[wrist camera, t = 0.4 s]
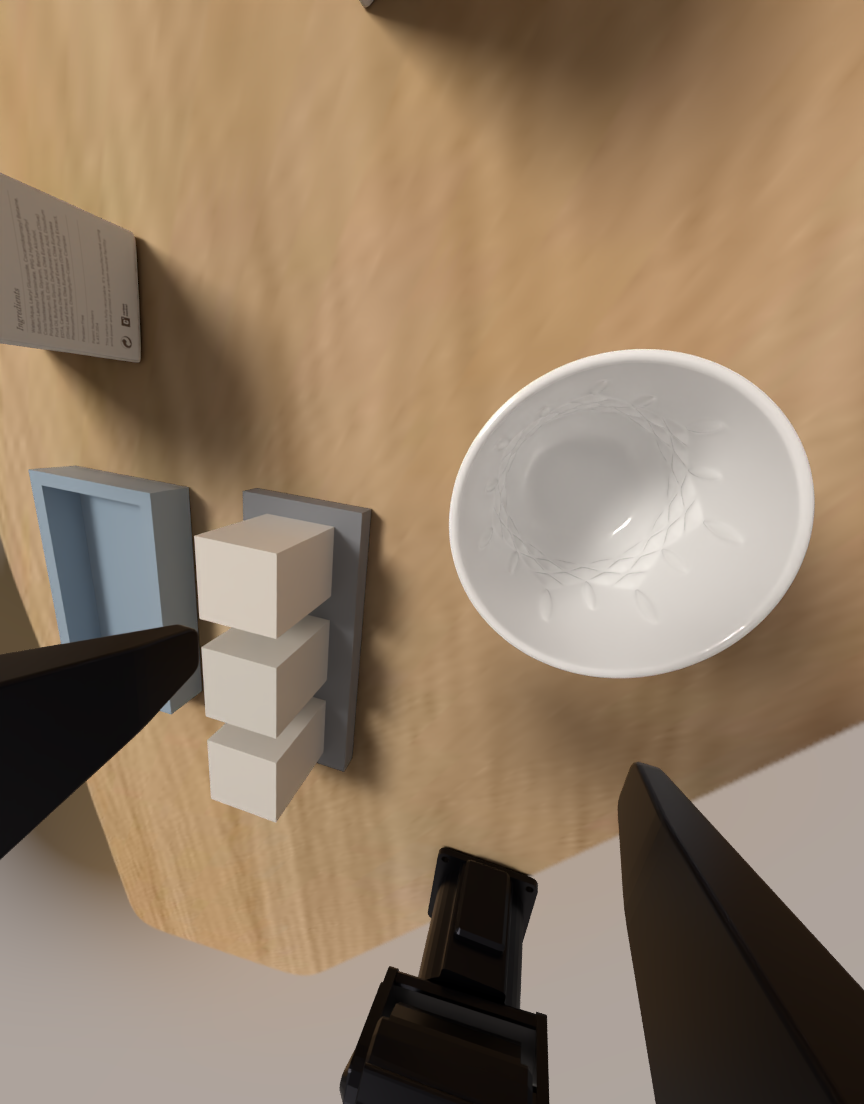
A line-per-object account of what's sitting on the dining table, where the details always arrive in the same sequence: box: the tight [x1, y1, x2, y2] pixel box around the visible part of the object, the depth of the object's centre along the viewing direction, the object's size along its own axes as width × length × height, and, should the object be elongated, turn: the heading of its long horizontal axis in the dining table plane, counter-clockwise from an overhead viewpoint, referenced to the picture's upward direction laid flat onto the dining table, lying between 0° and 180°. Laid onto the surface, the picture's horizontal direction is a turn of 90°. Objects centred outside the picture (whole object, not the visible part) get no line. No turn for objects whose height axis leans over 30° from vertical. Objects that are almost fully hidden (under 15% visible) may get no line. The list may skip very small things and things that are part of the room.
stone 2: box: [201, 615, 330, 739], centre depth 22 cm, size 4×4×5 cm
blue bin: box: [29, 466, 202, 714], centre depth 26 cm, size 15×9×3 cm, turn 173°
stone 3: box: [207, 697, 326, 822], centre depth 23 cm, size 4×4×5 cm
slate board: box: [243, 488, 371, 772], centre depth 25 cm, size 17×7×1 cm, turn 173°
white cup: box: [449, 349, 815, 678], centre depth 14 cm, size 8×8×10 cm
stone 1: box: [194, 514, 334, 639], centre depth 20 cm, size 4×4×5 cm
